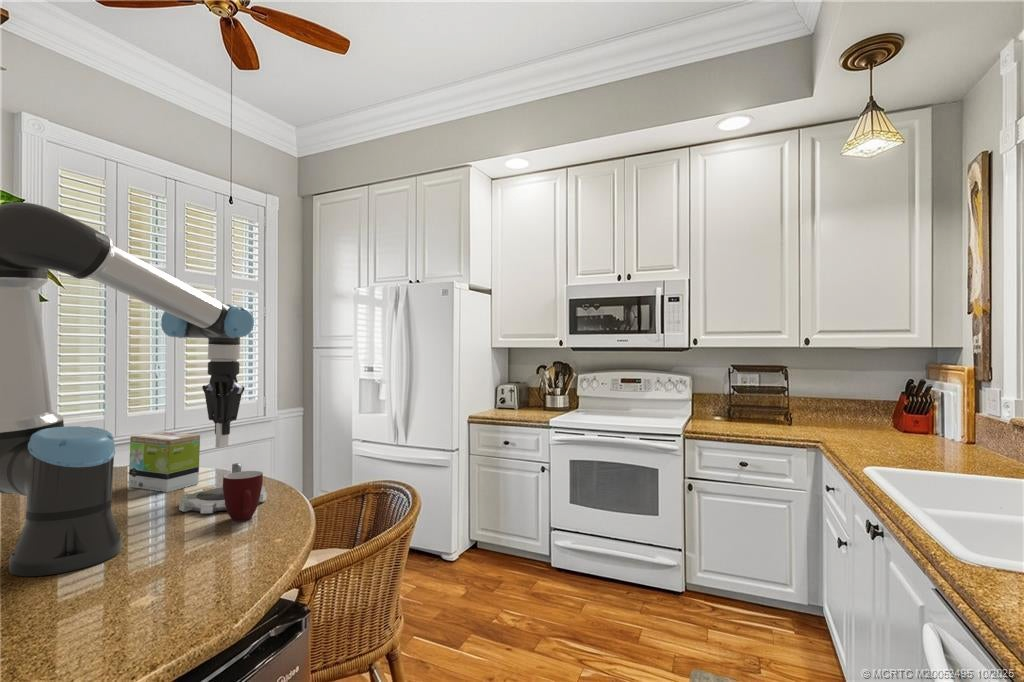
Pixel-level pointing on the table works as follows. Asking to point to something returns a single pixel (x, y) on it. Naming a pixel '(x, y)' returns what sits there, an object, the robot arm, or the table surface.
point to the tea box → (164, 461)
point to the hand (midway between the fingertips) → (221, 446)
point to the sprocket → (210, 498)
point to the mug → (242, 493)
